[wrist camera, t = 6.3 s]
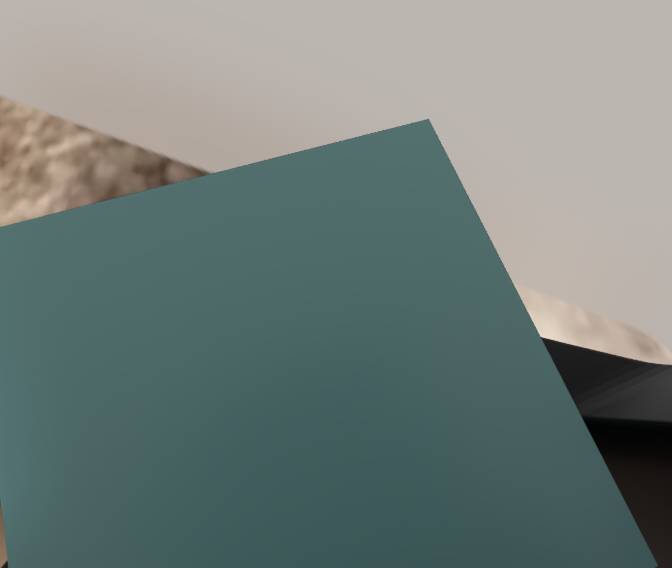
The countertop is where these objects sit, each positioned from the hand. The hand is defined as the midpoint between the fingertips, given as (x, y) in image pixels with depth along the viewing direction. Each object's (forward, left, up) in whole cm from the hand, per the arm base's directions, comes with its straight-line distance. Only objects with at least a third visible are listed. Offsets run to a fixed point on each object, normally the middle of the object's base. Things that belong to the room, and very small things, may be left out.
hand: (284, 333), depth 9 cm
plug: (-1, +1, -7) cm, 7 cm away
